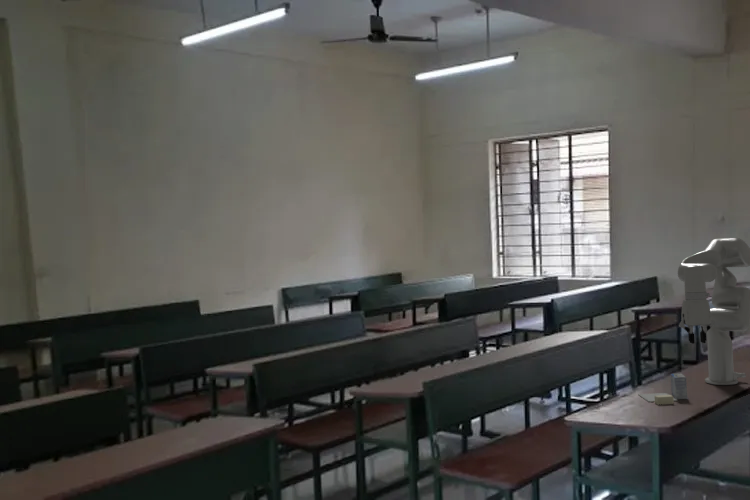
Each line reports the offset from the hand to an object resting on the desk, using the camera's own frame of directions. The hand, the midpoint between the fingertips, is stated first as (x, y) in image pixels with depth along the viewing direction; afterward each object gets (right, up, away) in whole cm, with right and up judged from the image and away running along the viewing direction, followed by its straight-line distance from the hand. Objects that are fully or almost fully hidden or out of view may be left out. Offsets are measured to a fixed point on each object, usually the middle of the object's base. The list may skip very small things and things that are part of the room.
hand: (697, 342), depth 279 cm
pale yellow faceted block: (-16, -23, -7) cm, 29 cm away
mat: (-15, -22, +1) cm, 27 cm away
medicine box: (-7, -22, +1) cm, 23 cm away
